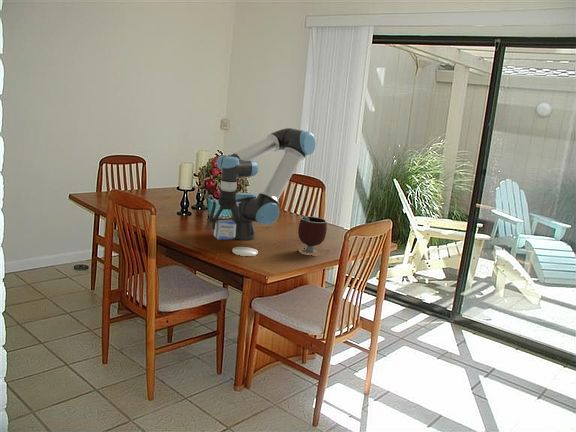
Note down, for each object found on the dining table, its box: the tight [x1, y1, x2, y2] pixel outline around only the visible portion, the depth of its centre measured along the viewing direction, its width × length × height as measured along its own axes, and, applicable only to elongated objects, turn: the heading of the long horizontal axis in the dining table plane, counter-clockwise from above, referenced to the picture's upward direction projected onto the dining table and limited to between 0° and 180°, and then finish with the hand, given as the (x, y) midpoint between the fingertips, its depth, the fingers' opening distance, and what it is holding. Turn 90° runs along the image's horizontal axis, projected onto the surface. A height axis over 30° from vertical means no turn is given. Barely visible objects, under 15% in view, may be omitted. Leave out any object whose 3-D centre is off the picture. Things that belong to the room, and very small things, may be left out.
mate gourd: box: [297, 214, 328, 253], centre depth 276 cm, size 16×14×20 cm
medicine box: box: [215, 219, 235, 241], centre depth 266 cm, size 8×4×9 cm, turn 117°
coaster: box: [232, 246, 259, 257], centre depth 264 cm, size 12×12×1 cm
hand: (224, 236), depth 266 cm, fingers closed on medicine box, 8 cm apart
